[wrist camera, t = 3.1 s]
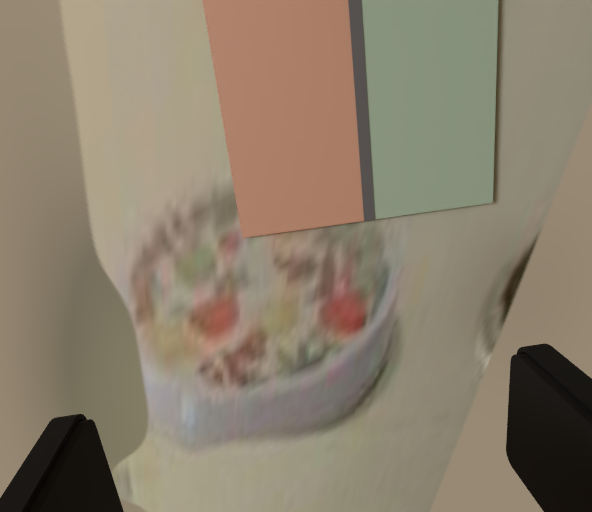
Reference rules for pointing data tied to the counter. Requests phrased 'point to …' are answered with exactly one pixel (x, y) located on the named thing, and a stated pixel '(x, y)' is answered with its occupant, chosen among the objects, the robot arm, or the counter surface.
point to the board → (354, 107)
